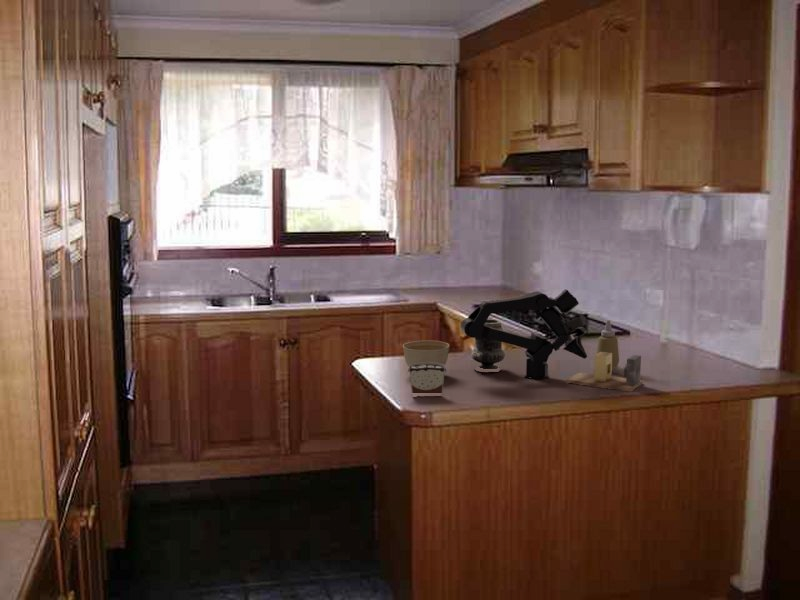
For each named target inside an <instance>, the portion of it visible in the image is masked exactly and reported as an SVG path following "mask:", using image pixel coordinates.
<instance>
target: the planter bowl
mask: <svg viewBox="0 0 800 600" xmlns="http://www.w3.org/2000/svg"><path fill="white" fill-rule="evenodd" d="M402 349H403V355H404V359H405V363H406V365H407V367H408V368H409V366H410V365H411V364H414V363H421V362H433V363H440V364H443V365H445V366H446V364H447V361H448V358H449V353H450V352H449V351H450V344H449V343H448V342H446V341H445V342H443V341H440V340H416V341H410V342H406V343H403V345H402Z"/></svg>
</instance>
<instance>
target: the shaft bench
mask: <svg viewBox="0 0 800 600" xmlns="http://www.w3.org/2000/svg"><path fill="white" fill-rule="evenodd" d="M641 366H642V355H640V354H639V355H637V354H633V355H631V356H629V357H628V358H626V363H625V365H624V366H622V365H621V366H619V365H618V366H613V368H612V374H617V375H618V374H620V375H624V377H619V376H612V378H611V379H609V380H608V381H606V382H603V381H595V380H594V373H587V372H585V373H584V372H577V373H576V374H574V375H572V376H570V377H569V378H567V379H566V380H565V384H568V383H573V384H572V385H576V384H579V385H578V386H583V385H587V386H586V387H591V386H593V388H599V387H601V389H606V388H608V389H607V390H614V389H615V390H616V391H623V392H633V391H634V390H636V389H637V388H638V387H640V386H642V385H643V379H641V370H642V369H641ZM635 388H636V389H635Z"/></svg>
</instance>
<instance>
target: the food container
mask: <svg viewBox="0 0 800 600" xmlns="http://www.w3.org/2000/svg"><path fill="white" fill-rule="evenodd" d="M407 373H409V379H410V388H411V394H412V393H442V394H443V391H444V380H445V373H448V371H447V368H446V364H445V365H443V364H440V363H433V362H421V363H414V364H411V365H410V366H409V367H408V369H407Z"/></svg>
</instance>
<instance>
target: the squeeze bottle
mask: <svg viewBox="0 0 800 600" xmlns="http://www.w3.org/2000/svg"><path fill="white" fill-rule="evenodd" d="M600 332H601V336H599V337H598V339H597V341H598V342H597V348H596V349H597V350H596V354H597V353H599V352H608V353H612V368H613V366H619V362H620V356H619V342H618V338H617V337H616V336H615V335H616V331H615V330H612V324H611V320H606V323H605V326H604V329H603V330H601V331H600Z"/></svg>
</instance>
